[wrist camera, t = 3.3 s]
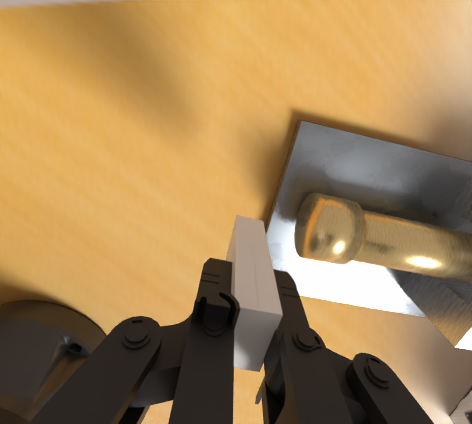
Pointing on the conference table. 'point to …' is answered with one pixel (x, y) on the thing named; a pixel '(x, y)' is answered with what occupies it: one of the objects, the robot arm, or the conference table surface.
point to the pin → (379, 239)
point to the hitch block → (380, 201)
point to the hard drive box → (463, 411)
